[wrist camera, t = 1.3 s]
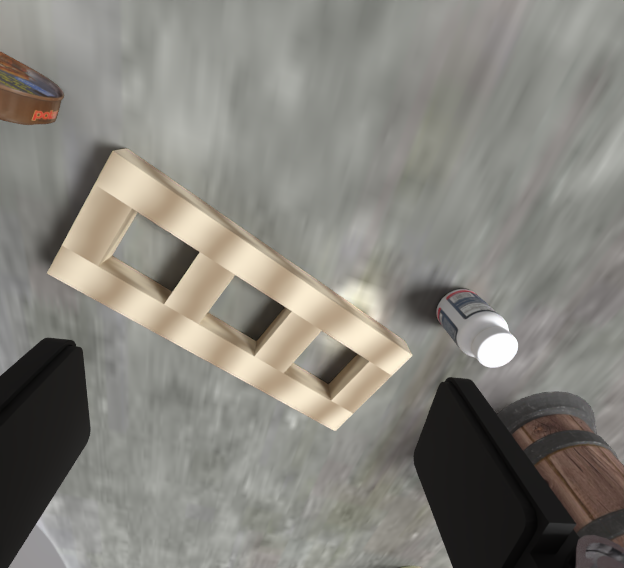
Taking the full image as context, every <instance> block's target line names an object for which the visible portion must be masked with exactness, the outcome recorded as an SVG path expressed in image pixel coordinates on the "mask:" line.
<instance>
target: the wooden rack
mask: <svg viewBox="0 0 624 568" xmlns="http://www.w3.org/2000/svg"><path fill="white" fill-rule="evenodd" d="M137 213H140V214H142V215H143V216H145V217H146V218H148V219H149V220H151V221H152V222H154V223H156V224H157V225H159V226H160V227H162V228H163V229H165V230H166V231H168V232H170V233H171V234H173V235H174V236H176V237H177V238H179V239H180V240H182V241H183V242H185V243H187V244H188V245H190V246H191V247H193V248H194V249H196V250H197V251H199V252H200V253H199V254H198V256H197V257H196V258H195V260H194V261H193V263H192V264H191V266H190V267H189V269H188V270H187V272H186V273H185V275H184V276H183V277H182V279H181V280H180V282H179V283H178V285H177V286H176V288H175V289H174V291H173V292H172V291H170V290H169V289H167V288H165V287H164V286H162V285H160V284H159V283H157V282H155V281H154V280H152V279H150V278H149V277H147V276H145V275H143V274H142V273H140V272H138V271H137V270H135V269H133V268H132V267H130V266H128V265H127V264H125V263H123V262H122V261H120V260H118V259H116V258H115V257H113V256H112V255H113V253H114V251H115V250H116V248H117V246H118V245H119V243H120V241H121V240H122V238H123V236H124V235H125V233H126V231H127V230H128V228H129V226H130V224H131V223H132V221H133V219H134V218H135V216H136V214H137ZM47 274H49V275H51V276H53V277H54V278H56V279H58V280H60V281H62V282H64V283H65V284H67V285H69V286H71V287H73V288H75V289H76V290H78V291H80V292H82V293H84V294H86V295H87V296H89V297H91V298H93V299H95V300H96V301H98V302H100V303H102V304H104V305H106V306H107V307H109V308H111V309H113V310H115V311H117V312H118V313H120V314H122V315H124V316H126V317H128V318H129V319H131V320H133V321H135V322H137V323H139V324H140V325H142V326H144V327H146V328H148V329H149V330H151V331H153V332H155V333H157V334H159V335H160V336H162V337H164V338H166V339H168V340H170V341H171V342H173V343H175V344H177V345H179V346H181V347H182V348H184V349H186V350H188V351H190V352H191V353H193V354H195V355H197V356H199V357H201V358H202V359H204V360H206V361H208V362H210V363H212V364H213V365H215V366H217V367H219V368H221V369H223V370H224V371H226V372H228V373H230V374H232V375H234V376H235V377H237V378H239V379H241V380H243V381H244V382H246V383H248V384H250V385H252V386H254V387H255V388H257V389H259V390H261V391H263V392H265V393H266V394H268V395H270V396H272V397H274V398H276V399H277V400H279V401H281V402H283V403H285V404H286V405H288V406H290V407H292V408H294V409H296V410H297V411H299V412H301V413H303V414H305V415H307V416H308V417H310V418H312V419H314V420H316V421H318V422H319V423H321V424H323V425H325V426H327V427H328V428H330V429H332V430H334V431H336V430H337V429H338V428H339V427H340V426H341V425H342V424H343V423H344V422H345V421H346V420H347V419H348V418H349V417H350V416H351V415H352V414H353V413H354V412H355V411H356V410H357V409H358V408H359V407H360V406H361V405H362V404H363V403H364V402H365V401H366V400H367V399H368V398H369V397H370V396H372V395H373V394H374V393H375V392H376V391H377V390H378V389H379V388H380V387H381V386H382V385H383V384H384V383H385V382H386V381H387V380H388V379H389V378H390V377H391V376H392V375H393V374H394V373H395V372H396V371H397V370H398V369H399V368H400V367H401V366H402V365H403V364H404V363H405V362H406V361H407V360H408V359H409V358H410V357H411V356H412V353H411V352H410V350H409V348H408V346H407V344H406V342H405V341H404V340H403V339H401V338H400V337H399V336H397V335H396V334H394V333H393V332H391V331H390V330H388V329H387V328H386V327H384V326H383V325H381V324H380V323H378V322H377V321H375V320H374V319H373V318H371V317H370V316H368V315H367V314H365V313H364V312H362V311H361V310H360V309H358V308H357V307H355V306H354V305H352V304H351V303H349V302H348V301H347V300H345V299H344V298H342V297H341V296H339V295H338V294H336V293H335V292H334V291H332V290H331V289H329V288H328V287H326V286H325V285H323V284H322V283H321V282H319V281H318V280H316V279H315V278H313V277H312V276H311V275H309V274H308V273H306V272H305V271H303V270H302V269H300V268H299V267H298V266H296V265H295V264H293V263H292V262H290V261H289V260H287V259H286V258H285V257H283V256H282V255H280V254H279V253H277V252H276V251H274V250H273V249H272V248H270V247H269V246H267V245H266V244H264V243H263V242H261V241H260V240H259V239H257V238H256V237H254V236H253V235H251V234H250V233H248V232H247V231H246V230H244V229H243V228H241V227H240V226H238V225H237V224H236V223H234V222H233V221H231V220H230V219H228V218H227V217H225V216H224V215H223V214H221V213H220V212H218V211H217V210H215V209H214V208H212V207H211V206H210V205H208V204H207V203H205V202H204V201H202V200H201V199H199V198H198V197H197V196H195V195H194V194H192V193H191V192H189V191H188V190H186V189H185V188H184V187H182V186H181V185H179V184H178V183H176V182H175V181H173V180H172V179H171V178H169V177H168V176H166V175H165V174H163V173H162V172H160V171H159V170H158V169H156V168H155V167H153V166H152V165H150V164H149V163H148V162H146V161H145V160H143V159H142V158H140V157H139V156H137V155H136V154H135V153H133V152H132V151H130V150H129V149H127V148H126V149H120V150H113V151H112V153H111V155H110V156H109V158H108V160H107V162H106V164H105V166H104V168H103V170H102V171H101V173H100V175H99V177H98V179H97V181H96V183H95V184H94V186H93V188H92V190H91V192H90V194H89V196H88V198H87V199H86V201H85V203H84V205H83V207H82V209H81V211H80V212H79V214H78V216H77V218H76V220H75V222H74V224H73V226H72V227H71V229H70V231H69V233H68V235H67V237H66V239H65V240H64V242H63V244H62V246H61V248H60V250H59V252H58V254H57V255H56V257H55V259H54V261H53V263H52V265H51V267H50V268H49V270H48V272H47ZM235 275H236V276H238V277H239V278H241V279H242V280H244V281H246V282H247V283H249V284H250V285H252V286H253V287H255V288H256V289H258V290H260V291H261V292H263V293H264V294H266V295H267V296H269V297H270V298H272V299H274V300H275V301H277V302H278V303H280V304H281V305H283V306H284V309H283V310H282V311H281V312H280V314H279V315H278V316H277V317H276V318H275V320H274V321H273V322H272V323H271V324H270V326H269V327H268V328H267V329H266V331H265V332H264V333H263V334H262V335H261V337H260V338H259V339H258V340H257V341H255V340H253V339H251V338H250V337H248V336H246V335H245V334H243V333H241V332H240V331H238V330H236V329H235V328H233V327H231V326H230V325H228V324H226V323H224V322H223V321H221V320H219V319H218V318H216V317H214V316H213V315H211V314H209V313H208V311H209V310H210V308H211V307H212V306H213V304H214V303H215V302H216V300H217V299H218V297H219V296H220V295H221V293H222V292H223V291H224V289H225V288H226V287H227V285H228V284H229V283H230V281H231V280H232V279H233V277H234V276H235ZM321 331H323V332H325V333H326V334H328V335H329V336H331V337H333V338H334V339H336V340H337V341H339V342H340V343H342V344H343V345H345V346H346V347H348V348H350V349H351V350H353V351H354V352H356V353H357V355H356V356H355V357H354V358H353V359H352V360H351V361H350V362H349V363H348V364H347V365H346V366H345V367H344V369H343V370H342V371H341V372H340V373H339V374H338V375H337V376H336V377H335V378H334V379H333V380H332V381H331V382H330V383H329V384H327V383H326V382H324V381H322V380H321V379H319V378H317V377H316V376H314V375H312V374H311V373H309V372H307V371H305V370H304V369H302V368H300V367H299V366H297V365H295V364H294V363H293V362H294V361H295V360H296V359H297V358H298V357H299V355H300V354H301V353H302V352H303V351H304V350H305V349H306V348H307V346H308V345H309V344H310V343H311V342H312V341H313V340H314V339H315V337H316V336H317V335H318V334H319V333H320V332H321Z"/></svg>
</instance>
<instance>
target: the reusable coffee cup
mask: <svg viewBox="0 0 624 568" xmlns="http://www.w3.org/2000/svg"><path fill="white" fill-rule="evenodd" d="M401 568H422V567H418V566H405V567H401Z"/></svg>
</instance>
